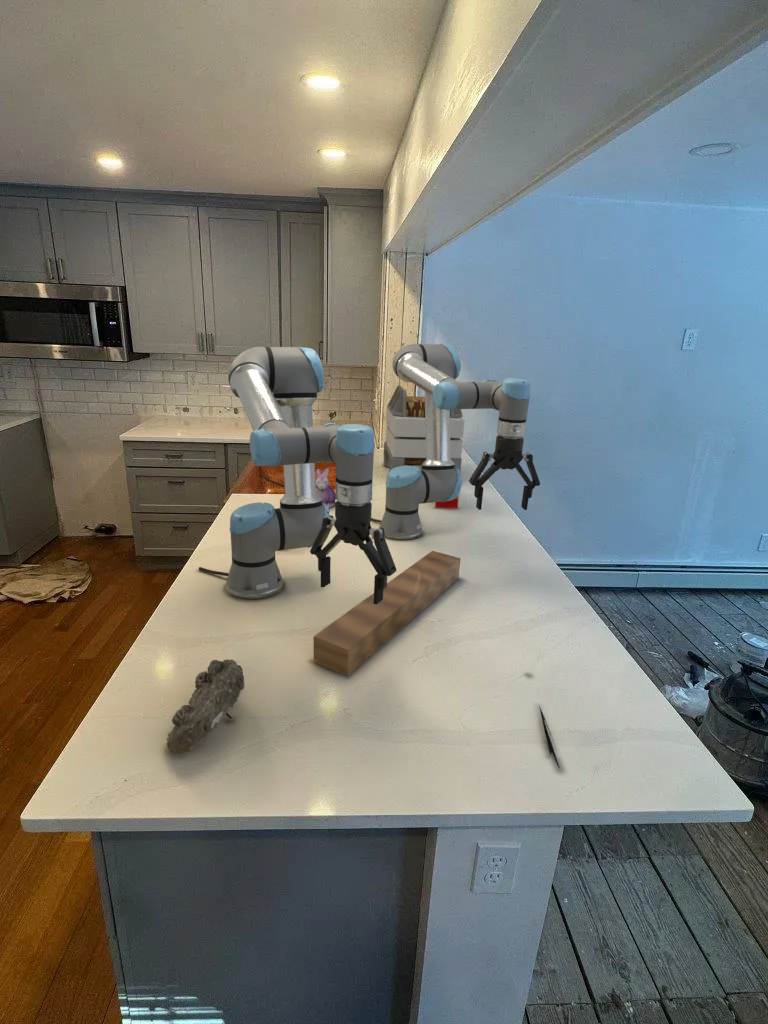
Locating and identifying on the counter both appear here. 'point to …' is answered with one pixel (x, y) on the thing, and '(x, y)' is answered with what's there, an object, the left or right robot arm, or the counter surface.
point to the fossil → (206, 705)
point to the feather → (548, 737)
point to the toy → (448, 504)
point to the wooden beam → (384, 613)
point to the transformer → (415, 432)
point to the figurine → (325, 488)
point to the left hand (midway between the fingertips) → (351, 593)
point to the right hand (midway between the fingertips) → (501, 508)
